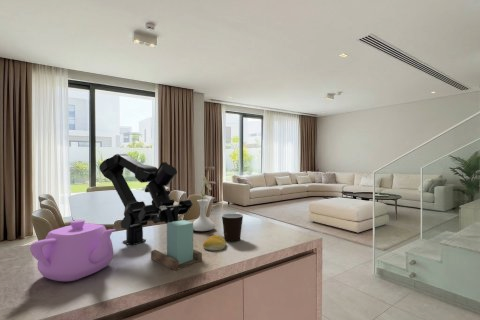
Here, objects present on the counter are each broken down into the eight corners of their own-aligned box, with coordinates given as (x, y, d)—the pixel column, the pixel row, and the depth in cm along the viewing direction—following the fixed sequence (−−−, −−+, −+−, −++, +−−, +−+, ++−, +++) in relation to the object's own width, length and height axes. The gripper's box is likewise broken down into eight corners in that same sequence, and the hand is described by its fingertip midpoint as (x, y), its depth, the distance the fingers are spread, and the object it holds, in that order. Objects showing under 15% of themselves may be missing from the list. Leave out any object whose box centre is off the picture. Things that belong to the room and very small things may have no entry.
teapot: (11, 285, 68) (10, 228, 68) (84, 257, 88) (84, 212, 88) (71, 303, 60) (70, 238, 60) (137, 267, 80) (137, 218, 80)
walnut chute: (151, 258, 87) (150, 250, 87) (177, 250, 95) (177, 243, 95) (174, 270, 77) (174, 262, 77) (201, 260, 85) (201, 252, 85)
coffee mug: (238, 244, 101) (238, 218, 101) (218, 241, 104) (218, 216, 104) (247, 235, 112) (247, 212, 112) (228, 233, 115) (228, 211, 115)
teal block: (166, 259, 84) (166, 222, 84) (182, 254, 89) (182, 219, 89) (177, 264, 80) (177, 226, 80) (193, 259, 85) (193, 222, 84)
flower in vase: (213, 233, 115) (213, 177, 115) (187, 233, 115) (187, 177, 115) (216, 225, 128) (216, 175, 128) (193, 225, 128) (193, 175, 128)
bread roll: (200, 250, 94) (200, 239, 94) (208, 242, 103) (208, 232, 103) (222, 252, 93) (222, 241, 93) (228, 244, 102) (228, 234, 102)
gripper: (172, 204, 105) (189, 237, 98) (126, 211, 92) (141, 250, 84) (184, 186, 100) (202, 219, 93) (137, 191, 86) (154, 230, 79)
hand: (176, 230), depth 87 cm, fingers closed, pressing on teal block
